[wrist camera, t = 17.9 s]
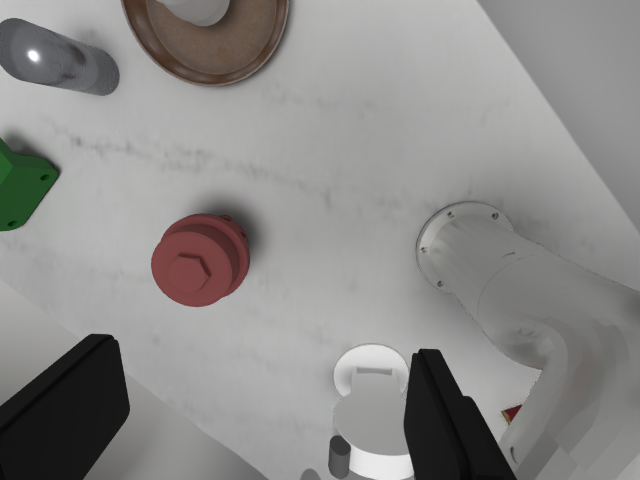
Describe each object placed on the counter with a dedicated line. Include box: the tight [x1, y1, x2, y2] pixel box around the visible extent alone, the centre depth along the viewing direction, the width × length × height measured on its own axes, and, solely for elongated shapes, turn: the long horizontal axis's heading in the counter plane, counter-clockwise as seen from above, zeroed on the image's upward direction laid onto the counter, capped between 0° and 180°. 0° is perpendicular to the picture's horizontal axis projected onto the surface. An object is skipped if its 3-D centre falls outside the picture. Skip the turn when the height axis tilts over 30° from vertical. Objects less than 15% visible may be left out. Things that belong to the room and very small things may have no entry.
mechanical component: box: [151, 214, 250, 307], centre depth 38 cm, size 12×10×10 cm
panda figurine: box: [328, 343, 416, 480], centre depth 43 cm, size 12×11×15 cm
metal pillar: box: [0, 18, 119, 96], centre depth 34 cm, size 5×5×10 cm
